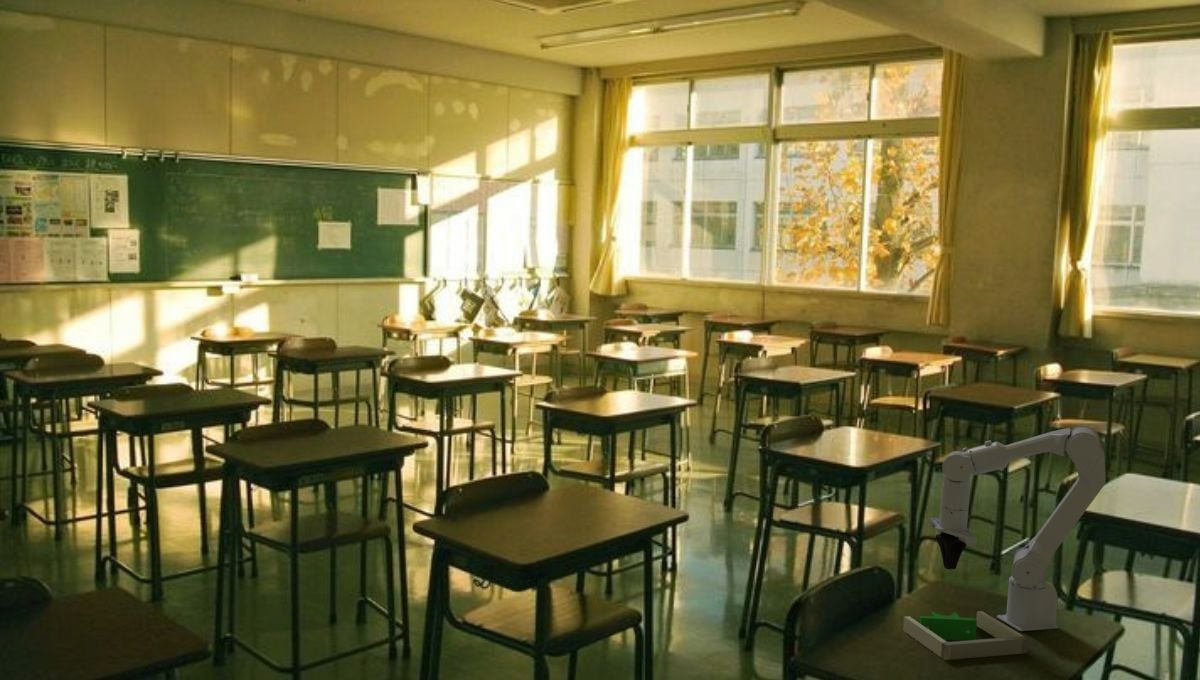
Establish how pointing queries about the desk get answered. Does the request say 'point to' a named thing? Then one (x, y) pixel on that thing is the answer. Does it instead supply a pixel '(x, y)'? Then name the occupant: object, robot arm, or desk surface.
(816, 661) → the desk surface
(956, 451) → the robot arm
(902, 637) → the desk surface
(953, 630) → the green flat block
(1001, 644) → the docking bay
